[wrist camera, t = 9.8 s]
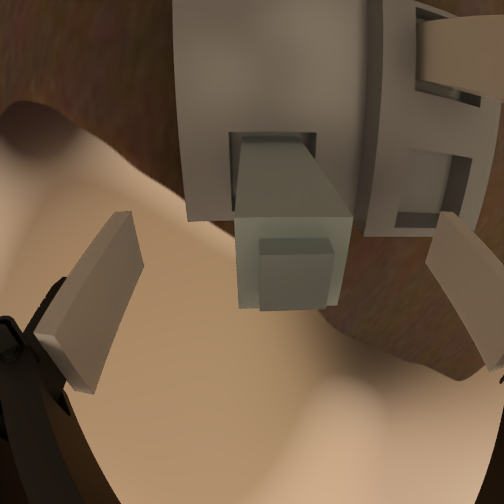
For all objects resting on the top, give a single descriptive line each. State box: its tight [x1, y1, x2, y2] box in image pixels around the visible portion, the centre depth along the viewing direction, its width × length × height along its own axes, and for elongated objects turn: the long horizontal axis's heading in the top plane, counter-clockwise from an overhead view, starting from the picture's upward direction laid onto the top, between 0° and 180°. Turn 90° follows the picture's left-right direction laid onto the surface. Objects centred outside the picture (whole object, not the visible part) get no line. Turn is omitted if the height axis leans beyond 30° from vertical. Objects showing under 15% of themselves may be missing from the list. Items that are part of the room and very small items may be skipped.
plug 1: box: [234, 136, 353, 311], centre depth 16 cm, size 4×4×14 cm
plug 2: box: [415, 15, 504, 103], centre depth 9 cm, size 4×4×14 cm
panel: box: [172, 0, 501, 237], centre depth 18 cm, size 16×22×6 cm
